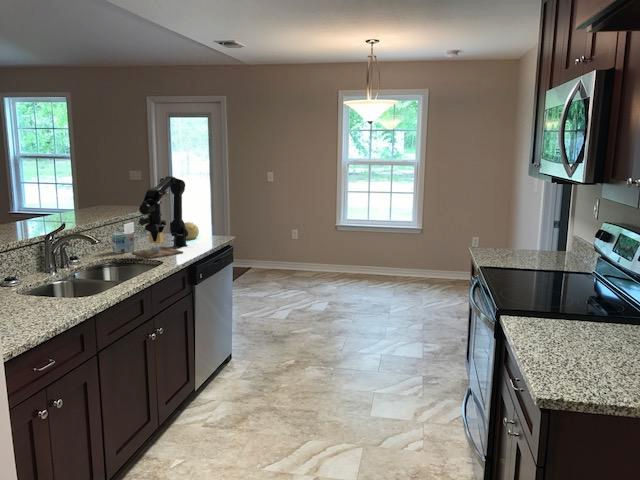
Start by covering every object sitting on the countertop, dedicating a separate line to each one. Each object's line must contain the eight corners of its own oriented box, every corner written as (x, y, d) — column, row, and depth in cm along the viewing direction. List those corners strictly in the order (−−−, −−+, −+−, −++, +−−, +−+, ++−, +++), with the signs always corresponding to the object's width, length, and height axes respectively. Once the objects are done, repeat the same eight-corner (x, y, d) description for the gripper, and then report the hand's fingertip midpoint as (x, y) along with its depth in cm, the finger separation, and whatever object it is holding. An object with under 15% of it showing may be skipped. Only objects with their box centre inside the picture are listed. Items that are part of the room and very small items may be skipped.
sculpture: (176, 239, 328) (176, 223, 326) (186, 236, 339) (186, 220, 337) (192, 240, 325) (191, 223, 323) (202, 237, 336) (201, 221, 334)
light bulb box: (116, 253, 285) (115, 234, 283) (112, 251, 290) (111, 233, 288) (135, 251, 292) (134, 232, 290) (131, 249, 297) (130, 231, 295)
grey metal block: (155, 252, 285) (154, 246, 284) (161, 252, 285) (160, 246, 284) (153, 253, 281) (152, 247, 281) (159, 253, 281) (159, 247, 281)
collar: (152, 241, 285) (152, 232, 284) (163, 241, 285) (163, 232, 284) (149, 243, 279) (148, 234, 278) (160, 243, 279) (159, 234, 278)
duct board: (164, 248, 300) (164, 246, 300) (183, 253, 287) (183, 251, 287) (132, 253, 286) (132, 251, 286) (150, 258, 273) (150, 257, 273)
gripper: (145, 210, 288) (147, 237, 291) (134, 214, 270) (136, 243, 272) (165, 210, 288) (166, 237, 291) (155, 214, 270) (157, 243, 273)
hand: (156, 240), depth 282 cm, fingers closed on collar, 6 cm apart
